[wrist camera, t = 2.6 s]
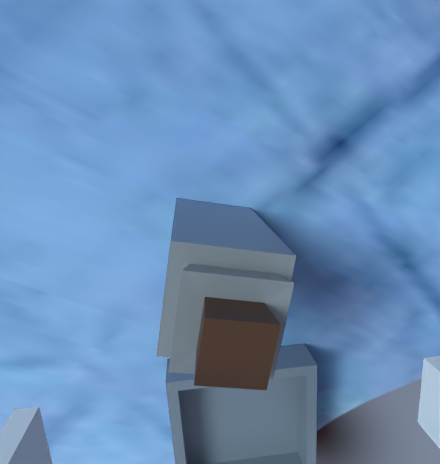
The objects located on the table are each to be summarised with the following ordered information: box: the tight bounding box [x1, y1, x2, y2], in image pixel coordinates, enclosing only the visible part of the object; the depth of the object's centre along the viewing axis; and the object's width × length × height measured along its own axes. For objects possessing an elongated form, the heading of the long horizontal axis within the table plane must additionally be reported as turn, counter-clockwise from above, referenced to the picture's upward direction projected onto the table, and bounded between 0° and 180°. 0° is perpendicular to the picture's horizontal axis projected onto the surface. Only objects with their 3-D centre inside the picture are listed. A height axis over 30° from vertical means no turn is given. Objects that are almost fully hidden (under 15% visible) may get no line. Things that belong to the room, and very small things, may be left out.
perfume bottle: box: [157, 198, 296, 390], centre depth 24 cm, size 7×7×18 cm
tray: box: [166, 344, 317, 464], centre depth 36 cm, size 14×14×4 cm
